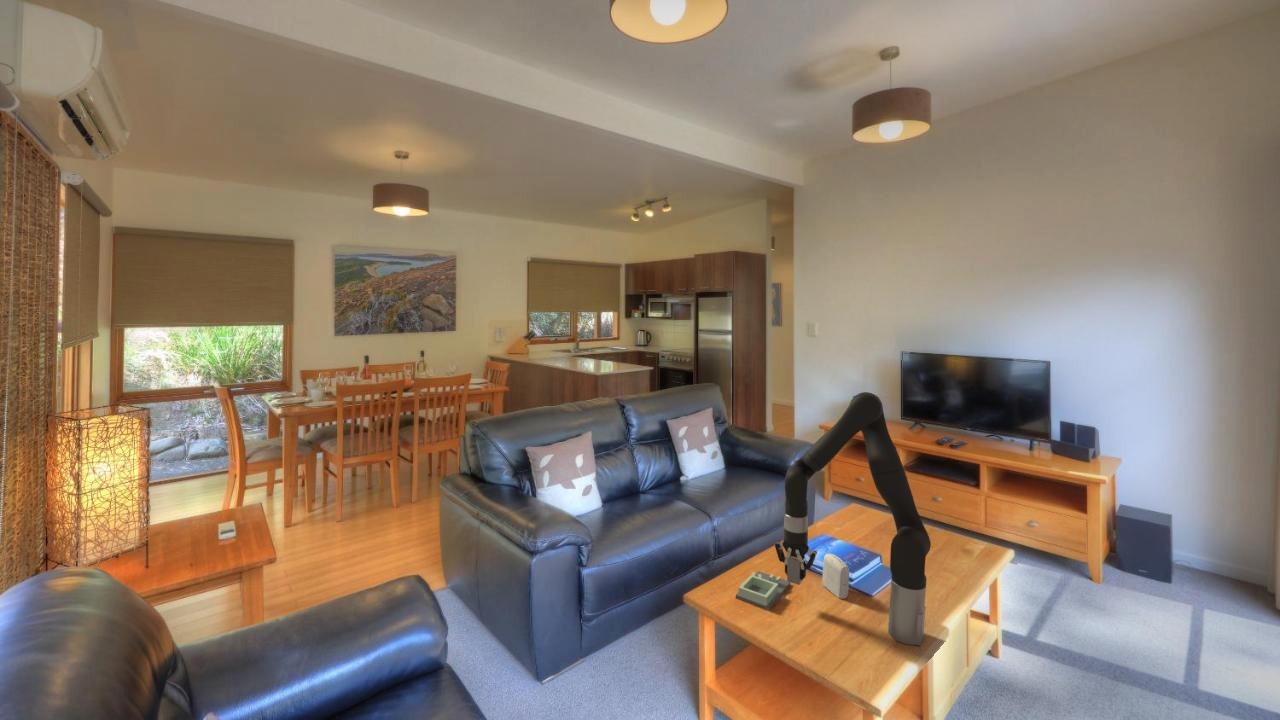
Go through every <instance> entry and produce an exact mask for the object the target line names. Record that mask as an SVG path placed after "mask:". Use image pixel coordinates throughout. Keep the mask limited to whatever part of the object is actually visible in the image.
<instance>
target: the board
mask: <svg viewBox="0 0 1280 720" xmlns="http://www.w3.org/2000/svg"><path fill="white" fill-rule="evenodd" d="M751 575H753V576H756V577H759V578H762V579H765V580H768V581H771V582H774V583H777V584H778V593H777V594H776V595H775V596H774V598H773V599H772V600H771V601H770V602H769V604H768V605H767V606H765V605H762V604H759V603H757V602H754V601H751V600H749V599H746V598H743V597H740V596H738V595H739V591H738V592H737V593H736V594H735V599H738V600H740V601H742V602H746V603H747V604H751V605H753V606H756V607H758V608H762V609H764V610H766V611H770V610H771V609H772V608H773V606H775V604H776V603H777V602H778V600H779V599H780V598H781V597H782V595H784V593H785V592H786V591H787V589H788V588H789V587H790V586H791V582H788V581H787V579H783V578H781V576H779V575H778V576H775V574H774V573H771V574H769V573H766V572H762V571H757V572H756V571H752V572H751ZM749 590H752V591H755V592H758V593H761V594H763V595H766V593H767V592H768V590H765V589H762V588H760V587H757V586H754V585H752V586H751V587H750V588H749Z"/></svg>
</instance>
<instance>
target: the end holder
mask: <svg viewBox="0 0 1280 720" xmlns="http://www.w3.org/2000/svg"><path fill="white" fill-rule="evenodd" d="M752 585H754V586H757V587H760V588H762V589H765V590H768V592H767V593H766V595H763V594H761V593H758V592H755V591H752V590H749V588H750V587H751V586H752ZM738 592H739V595H738V596H740V597H743V598H746V599H749V600H751V601H754V602H757V603H759V604H762V605H765V606H767V605H768V604H769V602H770V601H771V600H772V599H773V598H774V596H775V595H776V594H777V593H778V584H777V583H774V582H771V581H768V580H765V579H762V578H759V577H756V576H753V575H752V574H750V575H749V576H748V577H747V578H746V579H745V580H744V582H742V584H740V586H739V587H738Z"/></svg>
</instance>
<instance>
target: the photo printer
mask: <svg viewBox="0 0 1280 720" xmlns="http://www.w3.org/2000/svg"><path fill="white" fill-rule="evenodd" d="M822 563H823V565H822V581H821V582H822V585H823V586H824V588H826V589H828V591H829V592H831V593H832V594H833V595H834V596H835V597H836V598H838V599H841V600H845V599H847V598H848V596H849V586H850V585H849V583H850V568H849V566H848V565H847V564H846V562H845V561H844V560H842V559H841V558H840V557H839V556H837V555H835V554H833V553H826V554H825V555H824V557H823V562H822Z"/></svg>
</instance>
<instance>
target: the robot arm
mask: <svg viewBox="0 0 1280 720" xmlns="http://www.w3.org/2000/svg"><path fill="white" fill-rule="evenodd" d="M884 413H885V412H884V407H883V402H882V400H881V399H880V397H878V396H877V395H876V394H875V393H872V392H869V391H867V392H866V391H864V392H859V393H857V394H856V395H855V396H854V397H852V399H851V400H850V402H849V405H848V406H847V408H846V410H845V411H844V412H843V413H842V415H841V417H840V418H839V419H838V420H837V422H836V423H835V424H834V425H833V426H832V427H831V428H830V429H828V431H827V432H825V433H824V434H823V435H822V436H821V437H819V439H817V441H816V442H814V444H812V445H811V447H810V448H809V449H807V451H806V452H805V453H804V454H803V455H802V456H801V457H800V458H799V459H797V460H796V461H794V463H792V465H791V466H789V468H788V469H787V470H786V473H785V477H784V491H785V492H784V494H785V502H784V506H785V507H784V517H783V519H784V520H783V541H779V540H778V541H777V542H776V543H775V544H774V547H775V550H776V555H777V557H778V560H779V562H781V563H783V564H784V573H785V574H786V575H785V576H787V558H790V557H791V556H793V557H797V558H798V561H800V567H801V569H800V580H802V581H803V580H804V579H806V577H807V570H810V569H811V568H812V566H813V564H814V562H815V560H816V558H817V555H818V552H817V550H814V551H813V550H811V549H810V547H809V544H808V542H809V540H808V539H809V538H808V537H809V519H808V518H809V517H808V510H809V509H808V508H809V507H808V504H809V503H808V498H807V497H808V496H807V495H808V482H809V480H810V479H811V478H812V477H813V476H814V475H815V473H817V472H820V471H822V470H823V469H824V468H825V467H826V466H827V465H828V464H829V463H830V462H831V461H832V460H833V459H834V458H835V457H836V456H837V455H838V453H840V451H841V450H843V448H844V447H845V446H846V445H847V443H848V442H850V440H852V438H854V436H855V435H857V434H858V433H860V431H861V434H862V436H863V439H864V444H865V452H866V458H867V461H868V462H867V463H868V468H869V471H870V473H871V476H872V481H873V484H874V486H875V488H876V490H877V492H878V494H879V495H880V496H881V498H882V500H883V501H884V502H885V504H886V505H887V507H888V508H889V510H890V511H891V514H892V518H893V521H894V525H895V528H896V534H895V535H894V536H893V538H892V540H891V543H890V555H889V557H890V558H889V559H890V563H889V569H890V573H891V575H890V577H891V578H890V580H891V581H890V596H889V612H888V613H889V614H888V624H887V625H888V626H887V627H888V628H887V629H888V631H887V632H888V634H889V636H890V637H892V638H893V639H894V640H896V642H900V643H902V644H904V645H911V646H913V645H914V646H918V645H919V647H921V646H922V643H923V639H924V637H925V623H926V622H925V619H926V610H927V609H926V594H927V593H926V592H927V591H926V590H927V575H926V574H925V571H926V557H927V556H928V554H929V553H930V551H931V548H932V546H931V544H932V543H931V538H930V536H929V533H928V532H927V529H926V527H925V525H924V523H923V521H922V519H921V516H920V514H919V512H918V509H917V506H916V503H915V499H914V496H913V493H912V491H911V487H910V484H909V480H908V477H907V474H906V471H905V468H904V465H903V462H902V461H901V457H900V455H899V453H898V450H897V448H896V446H895V443H894V442H893V440H892V438H891V436H890V432H889V429H888V426H887V421H886V419H885V414H884ZM783 548H784V549H783ZM784 550H785V551H786V554H785V552H784ZM806 554H808V555H807V556H808V557H809V559H808V562H807V561H806V559H807V558H806Z"/></svg>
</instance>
